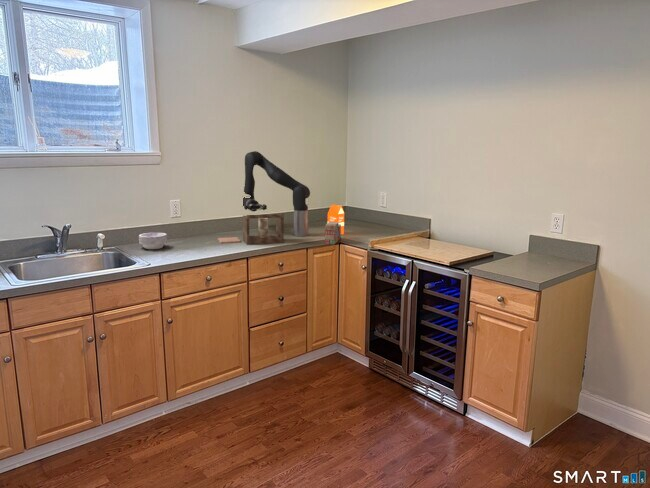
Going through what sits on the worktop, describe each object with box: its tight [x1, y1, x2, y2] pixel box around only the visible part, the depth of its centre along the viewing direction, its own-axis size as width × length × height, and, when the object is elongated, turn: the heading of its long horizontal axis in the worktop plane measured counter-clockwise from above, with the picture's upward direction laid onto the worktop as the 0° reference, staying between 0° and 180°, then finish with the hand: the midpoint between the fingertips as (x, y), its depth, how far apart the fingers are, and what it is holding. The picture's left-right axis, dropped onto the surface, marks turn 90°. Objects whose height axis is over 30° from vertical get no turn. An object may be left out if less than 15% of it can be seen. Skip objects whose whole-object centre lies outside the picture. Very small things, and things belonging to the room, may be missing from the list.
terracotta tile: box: [217, 236, 241, 244], centre depth 304 cm, size 12×12×1 cm
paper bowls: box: [138, 232, 168, 250], centre depth 280 cm, size 15×15×8 cm
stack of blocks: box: [324, 221, 342, 245], centre depth 311 cm, size 21×6×12 cm, turn 168°
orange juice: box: [326, 204, 345, 235], centre depth 333 cm, size 8×9×20 cm
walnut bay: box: [242, 213, 285, 246], centre depth 302 cm, size 23×12×18 cm, turn 111°
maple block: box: [257, 218, 269, 238], centre depth 302 cm, size 5×5×12 cm
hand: (257, 208), depth 313 cm, fingers open, 8 cm apart
